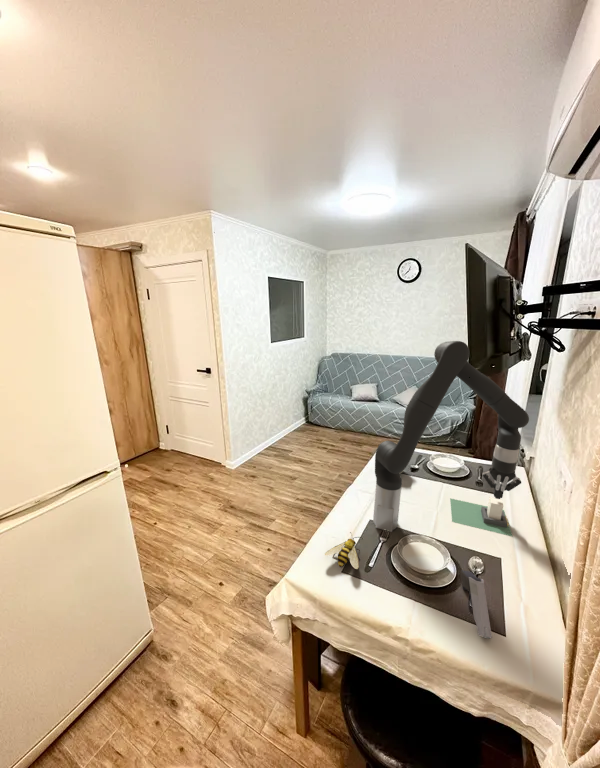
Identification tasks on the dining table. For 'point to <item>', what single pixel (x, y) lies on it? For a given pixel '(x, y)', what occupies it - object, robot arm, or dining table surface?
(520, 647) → the dining table surface
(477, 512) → the board
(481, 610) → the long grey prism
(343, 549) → the insect
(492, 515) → the plug
